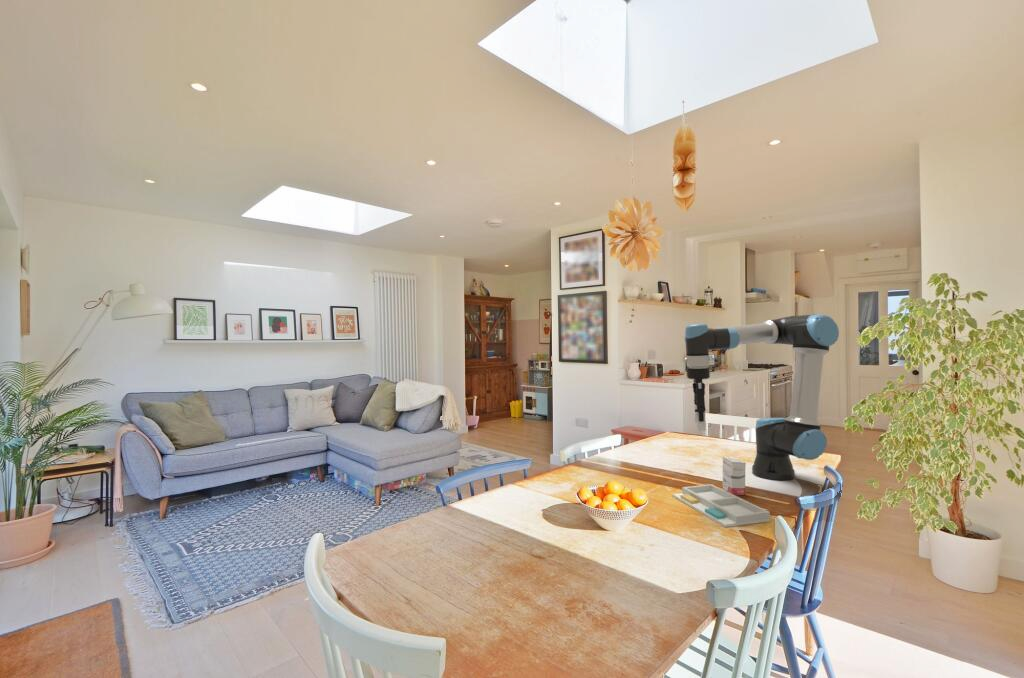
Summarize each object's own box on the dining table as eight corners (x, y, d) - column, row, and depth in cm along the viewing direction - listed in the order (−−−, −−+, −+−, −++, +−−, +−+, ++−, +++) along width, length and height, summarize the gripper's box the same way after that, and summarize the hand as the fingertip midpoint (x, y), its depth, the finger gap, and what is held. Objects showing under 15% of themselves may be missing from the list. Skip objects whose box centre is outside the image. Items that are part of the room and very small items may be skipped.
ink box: (746, 495, 165) (745, 462, 165) (732, 495, 166) (731, 462, 165) (735, 487, 174) (734, 455, 174) (721, 487, 174) (721, 456, 174)
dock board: (711, 491, 170) (711, 484, 170) (770, 521, 143) (769, 512, 143) (672, 496, 166) (672, 488, 166) (725, 527, 139) (724, 518, 139)
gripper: (685, 364, 178) (687, 419, 179) (688, 370, 155) (690, 433, 155) (706, 364, 176) (708, 420, 176) (712, 370, 152) (714, 434, 153)
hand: (700, 426), depth 166 cm, fingers open, 13 cm apart
